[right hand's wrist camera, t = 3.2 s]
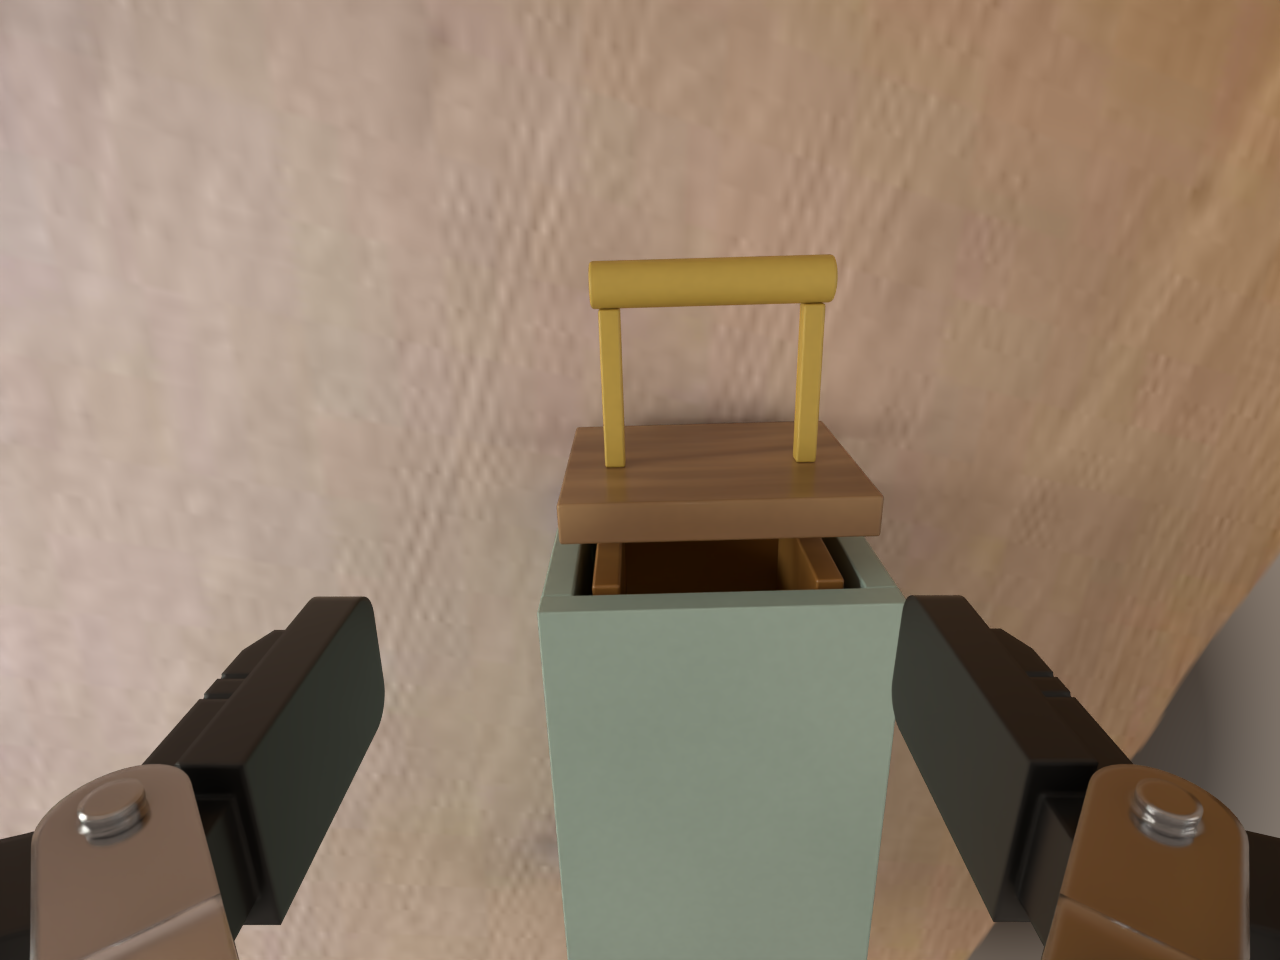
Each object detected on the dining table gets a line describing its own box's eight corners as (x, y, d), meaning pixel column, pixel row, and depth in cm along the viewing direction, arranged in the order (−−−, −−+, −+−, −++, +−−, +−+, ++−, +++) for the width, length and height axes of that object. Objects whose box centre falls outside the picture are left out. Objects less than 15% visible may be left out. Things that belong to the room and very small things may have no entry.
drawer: (565, 251, 24) (539, 273, 18) (833, 244, 24) (907, 262, 17) (601, 845, 33) (593, 1006, 27) (795, 840, 33) (835, 1001, 27)
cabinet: (566, 487, 28) (536, 612, 20) (828, 481, 28) (910, 602, 20) (593, 890, 36) (580, 1105, 27) (800, 886, 36) (851, 1100, 27)
